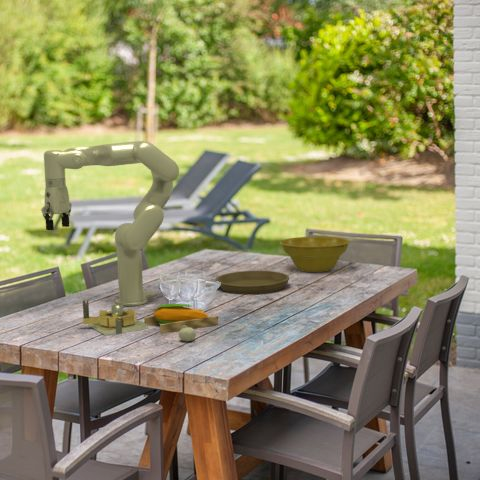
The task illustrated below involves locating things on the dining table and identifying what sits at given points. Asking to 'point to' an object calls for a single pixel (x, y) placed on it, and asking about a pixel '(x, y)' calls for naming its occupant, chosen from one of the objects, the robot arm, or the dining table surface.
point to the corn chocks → (182, 323)
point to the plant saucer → (252, 282)
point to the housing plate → (118, 323)
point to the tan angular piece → (108, 317)
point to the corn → (177, 313)
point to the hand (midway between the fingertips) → (57, 228)
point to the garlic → (187, 334)
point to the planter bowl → (315, 252)
